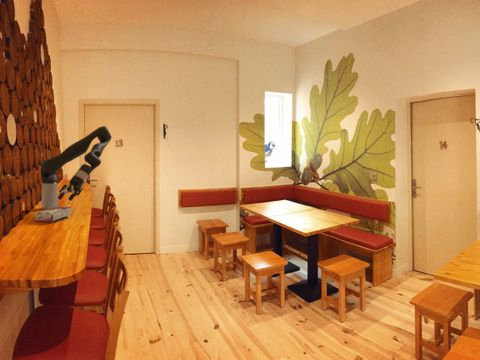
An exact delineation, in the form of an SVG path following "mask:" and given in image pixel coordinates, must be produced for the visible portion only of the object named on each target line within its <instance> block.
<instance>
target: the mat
mask: <svg viewBox="0 0 480 360" xmlns="http://www.w3.org/2000/svg"><path fill="white" fill-rule="evenodd" d="M68 218H69V217H68V216H65V217H62V218H60V219H57V220H54V221H38V222H39V223H45V224H46V223H47V224H50V223H53V222H58V221H63V220H68ZM34 221H35V222H37V221H36V219H34Z"/></svg>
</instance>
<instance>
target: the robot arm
mask: <svg viewBox="0 0 480 360" xmlns="http://www.w3.org/2000/svg"><path fill="white" fill-rule="evenodd" d="M96 138H97V139H98V141H99V142H97V143H95V144H93V146H92V147H91V149H90V150H89V148H90V146H91V144H92V142H93V141H94V140H95V139H96ZM112 138H113V137H112V134H111V133H110V131H109V128H108V127H107V126H105V125H103V126H99V127H97V128H96V129H95V130H93V131H92V132H90V133H88V135H86V136H84V137H82V138H81V139H79V140H78V141H76V142H73V143H72V144H71V145H69V146H68V147H66V148H65V149H64V150H63V151H62V152H61V153H60V154H57V155H56V156H54V157H52V158H45V159H43V160H42V161H41V163H40V178H41V192H42V193H41V196H40V198H41V209H43V210H46V209H50V208H53V207H59V200H60V201H61V200H62V198H64V196H65V195H66V194H69V193H70V195H69V197H68V201H70V202H71V201H73V200H74V198H75V197H77V196H80V194H81V193H82V191H83V189H84V188H83V187H82V186H83V185H84V184H85V182H86V181H87V179H88V177H89V176H90V175H91V173H92V172H93V171H94V170H95V169H96V168H98V167H99V166H101V164H102V160H101V159H100V157H101V156H102V154H103V152H104V149H105V148H106V147H107V145H109V144H110V142H111V140H112ZM88 150H89V152H88V153H87V151H88ZM85 153H86V154H85ZM84 154H85V156H84V158H83V159H84V161H85V162H86V163H87V164H85V163H83V164H82V165H81V166H80V167H79V168H78V170H77V171H76V172H74V175H72V177H71V178H70V180H69V183H68V184H65V183H64V185H62V187H61V188H60V189H58V177H57V171H58V170H60V169H61V168H62V167H63V166H65V165H66V164H67V163H70V162H72V161H74V160H76V159H77V158H78V157H81V156H82V155H84ZM88 164H89V165H88ZM59 193H60V194H59Z"/></svg>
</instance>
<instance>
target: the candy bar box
mask: <svg viewBox="0 0 480 360" xmlns="http://www.w3.org/2000/svg"><path fill="white" fill-rule="evenodd" d="M70 215H72V207H71V206H58V207H53V208H50V209H43V210H41V211H37V212H34V216H35V218H34V219H35V220H36V221H35V222H39V221H54V220H57V219H60V218H62V217H65V216H67V217H68V216H70Z"/></svg>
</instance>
